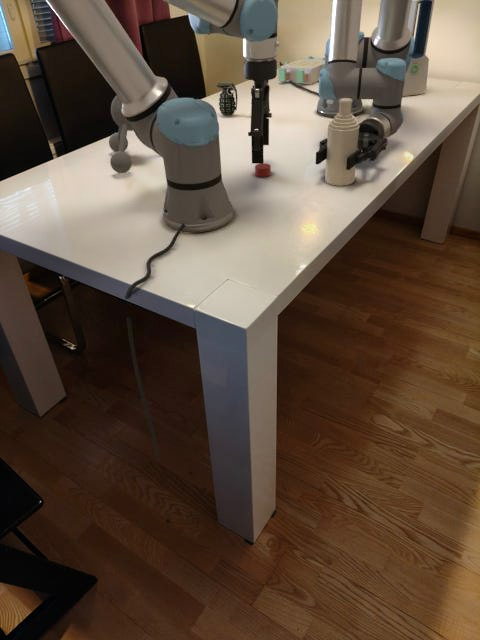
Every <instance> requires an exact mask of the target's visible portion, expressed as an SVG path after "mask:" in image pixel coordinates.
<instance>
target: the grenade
mask: <svg viewBox="0 0 480 640" xmlns="http://www.w3.org/2000/svg"><path fill="white" fill-rule="evenodd" d="M215 87H217V88H219V89H221V93H219V97H218V101H219V102H218V106H219V108H218V109H219V112H220V114H221V115H222V116H224V117H231V116H233V115H234V113H235V112H236V111H237V108H238V89H237V87H236V85H235V84H234V83H233V82H218V83H217V84H216V86H215ZM232 91H233V92H232ZM234 94H235V96H234Z"/></svg>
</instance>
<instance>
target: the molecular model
mask: <svg viewBox="0 0 480 640" xmlns="http://www.w3.org/2000/svg"><path fill="white" fill-rule="evenodd" d="M110 115H111V117H112V120H113V121H114V122H115V124H116V125H117V126H118V132H114V133H112V134H110V136H109V139H108V146H109V148H110V150H112V151H113V152H114V153H112V155H111V157H110V159H109V162H110V167H111V168H112V170H113V171H115V172H116V173H118V174H126V173H127V172H129V170H131V168H132V163H133V162H132V158H131V156H130V155H129V154H128V153H127V152H125V151H126V150H127V149H128V146H129V141H128V138H127V136H128V131H129V132H131V131H132V132H134V131H133V128H132V125H131V124H130V123H129V122H128V120H127V119H126V118H125V116H124V115H123V114H122V100H121V99H120V98H119V96H118V95H117V94H116V95H115V96H114V98H113V99H112V101H111V105H110Z"/></svg>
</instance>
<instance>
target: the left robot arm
mask: <svg viewBox="0 0 480 640" xmlns="http://www.w3.org/2000/svg"><path fill="white" fill-rule="evenodd" d="M162 1H163V2H165V3H167V4H170V5H171V6H173V7H176V8H178V9H180V10H182V11H183V12H186V13H187V15H188V20H189V25H190V26H191V29H192V30H193V32H194V33H195V34H197V35H207V36H210V35H213V34H221V35H224V36H229V37H234V38H240V39H242V56H243V58H245V60H244V61H243V77H244V78H245V79H246V80H248V81H253V85H252V86H251V88H250V95H251V101H250V102H251V103H250V105H251V109H250V131H248V132H247V135H248V137H250V138H251V139H250V140H251V164H263V163H264V146H269V145H270V119H271V118H272V116H273V113H272V112H271V109H270V89H271V86H270V85H269V81H271V80H274V79H276V78H277V76H278V74H277V73H278V60H277V59H276V57H277V56H278V47H280V46H281V42H280V41H277V40H278V21H279V0H162ZM45 2H47V4H48V5H49V6H50V8H51V9H52V10H53V12H54V13H55V14H56V16H57V17H58V18H59V20H60V21H61V22H62V24H63V25H64V26H65V28H66V29H67V30H68V32H69V33H70V34H71V36H72V37H73V38H74V39H75V41H76V42H77V44H78V45H79V46H80V48H81V49H82V51H84V53H85V54H86V56H87V57H88V58H89V60H90V61H91V62H92V63H93V65H94V66H95V67H96V69H97V70H98V71H99V73H100V74H101V75H102V77H103V78H104V79H105V81H106V82H107V83H108V85H109V86H110V87H111V89H112V90H113V91H114V92H115V94H116V95H118V96H119V98H120V99H121V100H122V114H123V115H124V116H125V118H126V119H127V120H128V122H129V123H130V124H131V125H132V128H133V131H132V132H134V135H135V136H136V138H137V139H138V140H139V141H140V142H141V143H142V144H143V145H144V147H145V146H146V147H147V148H149V149H151V150H152V151H153V152H155V153H156V154H157V155H158V156H159V157H161V158H162V159H163V168H164V173H165V180H166V190H165V191H166V192H165V196H164V203H163V207H162V218H163V222H164V224H165V226H167V227H168V228H169V229H171V230H173V231H176V233H175V234H174V235H173V237H172V239H171V241H170V243H169V244H168V245H167V247H165V248H164V249H162V250H160V251H159V252H156V253H154V254H153V255H151V256H150V257H149V258H148V259H147V261H146V265H145V266H146V273H145V275H144V276H143V277H142V278H140V279H138V280H135V281H134V282H133V283H131V285H130V286H129V287H128V289H127V291H126V293H125V296H124V297H125V298H124V299H125V300H128V299H130V297H131V295H132V292H133V291H134V289H135V288H136V287H137V286H139V285H141V284H143V283H145V282H146V281H147V280H149V279H150V277H151V275H152V267H151V263H152V262H153V261H154V260H155V259H156V258H159V257H160V256H161V257H162V255H164V254H166V253H167V252H169V251H170V250H171V249H172V247H174V245H175V243H176V241H177V239H178V237H180V235H181V233H190V234H191V233H192V234H193V233H194V234H195V233H196V234H197V233H205V232H206V233H207V232H210V231H215V230H216V229H220V228H222V227H224V226H226V225H227V224H228V223H230V221H231V220H232V218H233V216H234V212H233V211H234V210H233V204H232V201H231V200H230V197H229V195H228V192H227V190H226V187H225V184H224V182H223V175H222V174H223V173H222V161H221V159H222V158H221V145H220V124H219V120H218V114H217V111H216V109H215V107H214V105H212V104H211V103H210V102H209V101H208V102H207V101H206V100H203V99H199V98H196V99H195V98H194V97H179V96H178V95H177V93H176V91H175V90H174V89H173V87H172V85H170V83H169V82H168V80H167V78H165V77H164V76H163V77H162V76H158V75H155V74H154V72H153V71H152V69H151V68H150V66H149V65H148V63H147V61H146V60H145V59H144V57H143V56H142V54H141V53H140V51H139V50H138V48H137V47H136V45H135V44H134V42H133V41H132V39H131V38H130V36H129V34H128V33H127V32H126V30H125V29H124V27H123V26H122V24H121V23H120V21H119V20H118V18H117V17H116V15H115V14H114V12H113V11H112V9H111V8H110V6H109V5H108V3H107V2H106V0H45ZM125 318H126V327H127V335H128V341H129V347H130V353H131V359H132V365H133V367H134V368H133V369H134V374H135V377H136V382H137V386H138V390H139V393H140V399H141V400H142V401H141V402H142V405H143V409H144V413H145V418H146V420H147V424H148V427H149V432H150V436H151V439H152V444H153V447H154V452H155V456H156V457H157V458H158V457H160V455H161V454H160V451H159V447H158V442H157V437H156V434H155V430H154V426H153V422H152V418H151V415H150V410H149V406H148V403H147V400H146V396H145V391H144V387H143V383H142V378H141V375H140V370H139V369H140V368H139V365H138V361H137V354H136V349H135V343H134V342H135V341H134V335H133V327H132V318H130V317H129V316H128V317H127V316H126V317H125Z"/></svg>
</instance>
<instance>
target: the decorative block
mask: <svg viewBox="0 0 480 640" xmlns="http://www.w3.org/2000/svg"><path fill="white" fill-rule="evenodd" d="M282 65H283V66H281V65H280V67H279V68H277V73H278V74H277V76H278V77H277V79H278V82H285V83H286V82H287V83H290V82H289V81H290V80H291V81H292V82H294V83H296V84H304V85H312V84H315V83H317V82H319V76H320V70H321V69H323V68H325V57H313V56H312V55H311V56H308V57H306V58H303V59H302V58H299V59H297V60H295V61H292V62H289V61H285V62H284V63H283V64H282Z"/></svg>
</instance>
